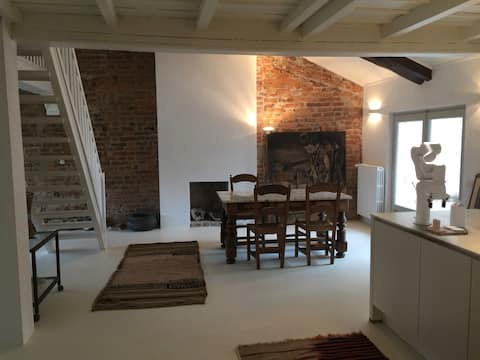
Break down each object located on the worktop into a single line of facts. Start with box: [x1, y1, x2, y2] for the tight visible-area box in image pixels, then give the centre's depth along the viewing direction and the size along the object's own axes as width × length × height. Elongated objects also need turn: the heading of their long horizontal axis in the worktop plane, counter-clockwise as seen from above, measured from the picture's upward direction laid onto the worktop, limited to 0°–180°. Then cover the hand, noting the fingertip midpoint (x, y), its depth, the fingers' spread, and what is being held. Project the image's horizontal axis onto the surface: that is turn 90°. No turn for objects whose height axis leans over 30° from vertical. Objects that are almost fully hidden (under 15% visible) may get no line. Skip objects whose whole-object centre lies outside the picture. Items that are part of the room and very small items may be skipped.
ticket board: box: [425, 225, 469, 236], centre depth 275 cm, size 16×20×3 cm
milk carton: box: [449, 199, 467, 228], centre depth 291 cm, size 7×7×19 cm
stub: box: [426, 218, 446, 232], centre depth 273 cm, size 12×6×7 cm, turn 10°
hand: (436, 207), depth 273 cm, fingers open, 9 cm apart
